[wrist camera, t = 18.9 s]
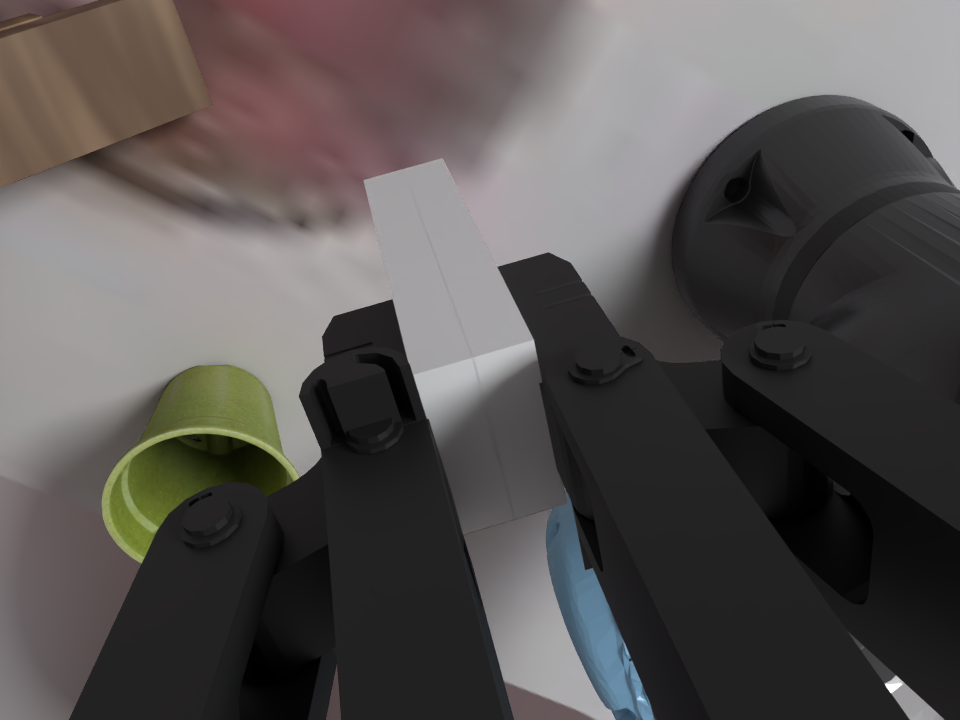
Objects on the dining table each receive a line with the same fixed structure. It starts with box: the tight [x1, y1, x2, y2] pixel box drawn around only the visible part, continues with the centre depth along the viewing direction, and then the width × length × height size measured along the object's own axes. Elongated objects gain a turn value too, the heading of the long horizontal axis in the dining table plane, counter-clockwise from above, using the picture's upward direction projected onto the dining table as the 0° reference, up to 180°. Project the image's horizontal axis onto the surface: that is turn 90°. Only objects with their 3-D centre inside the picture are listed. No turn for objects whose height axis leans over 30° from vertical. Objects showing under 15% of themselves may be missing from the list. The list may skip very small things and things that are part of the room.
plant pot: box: [101, 365, 300, 564], centre depth 44 cm, size 9×9×9 cm
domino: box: [0, 0, 213, 188], centre depth 34 cm, size 2×5×10 cm
